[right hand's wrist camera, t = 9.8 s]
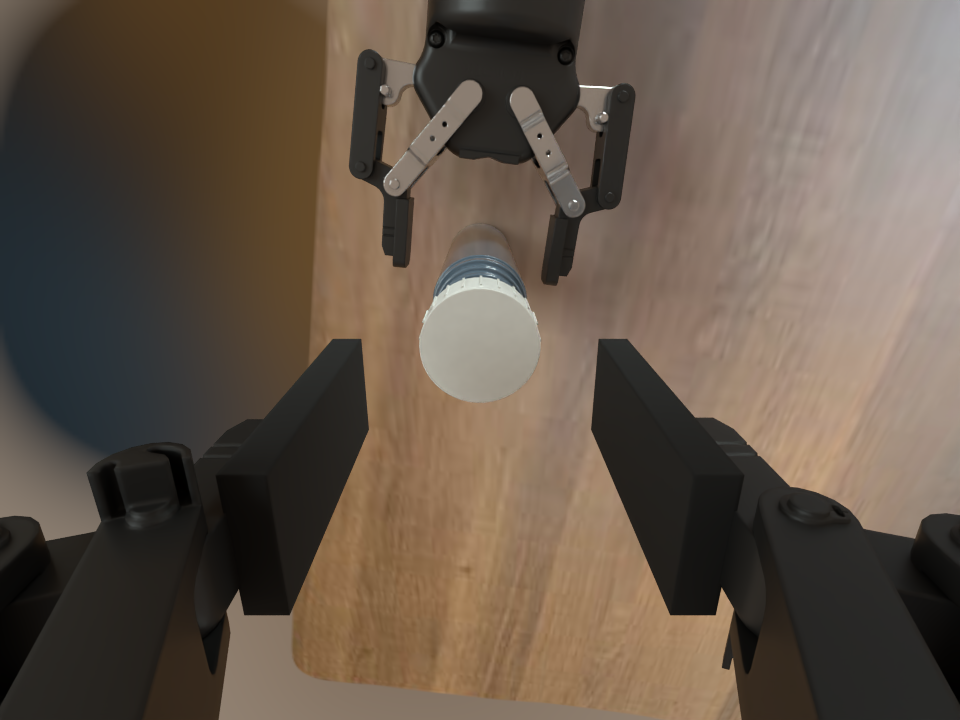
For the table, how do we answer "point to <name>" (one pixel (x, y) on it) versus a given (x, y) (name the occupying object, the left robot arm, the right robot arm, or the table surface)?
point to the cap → (479, 340)
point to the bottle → (479, 259)
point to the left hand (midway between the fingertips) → (475, 274)
